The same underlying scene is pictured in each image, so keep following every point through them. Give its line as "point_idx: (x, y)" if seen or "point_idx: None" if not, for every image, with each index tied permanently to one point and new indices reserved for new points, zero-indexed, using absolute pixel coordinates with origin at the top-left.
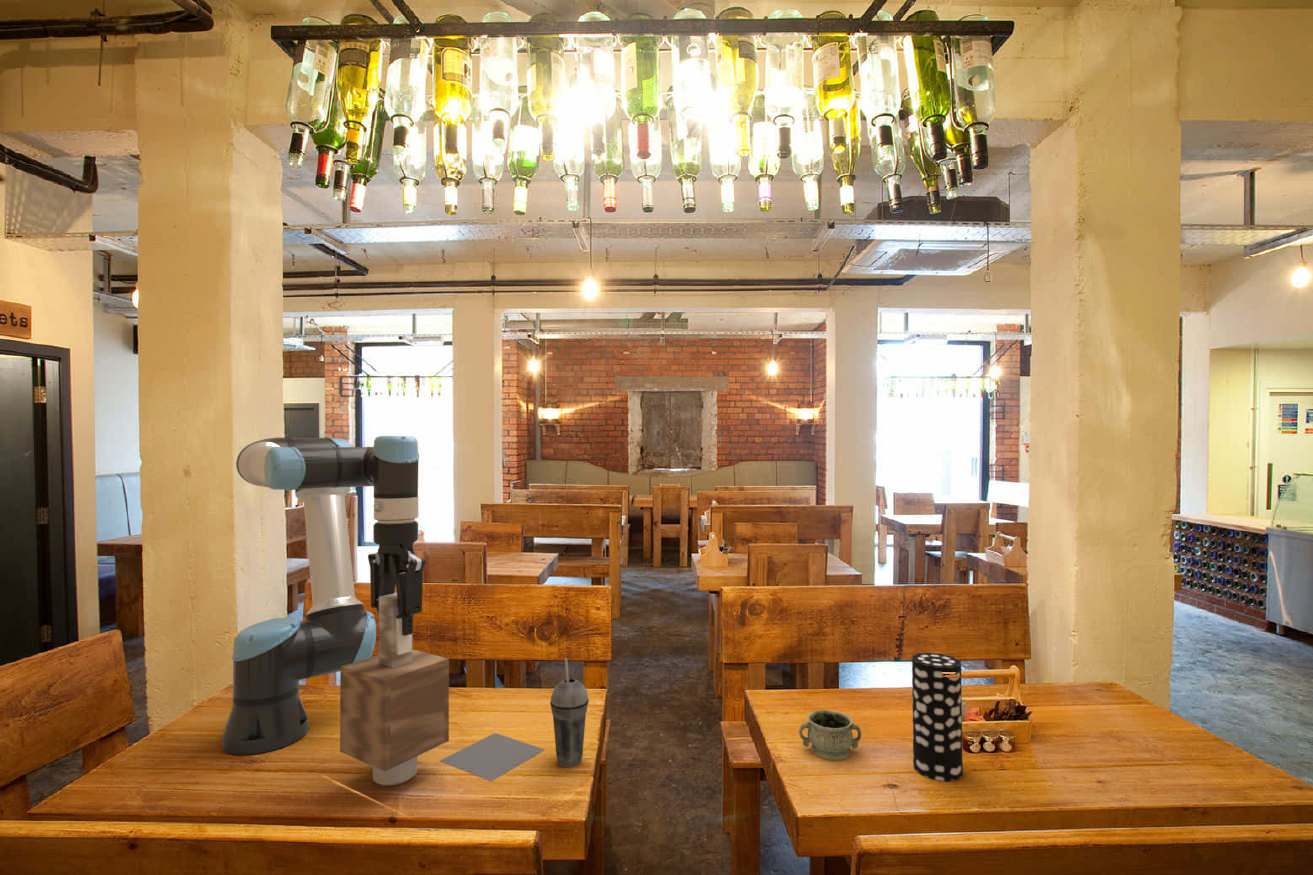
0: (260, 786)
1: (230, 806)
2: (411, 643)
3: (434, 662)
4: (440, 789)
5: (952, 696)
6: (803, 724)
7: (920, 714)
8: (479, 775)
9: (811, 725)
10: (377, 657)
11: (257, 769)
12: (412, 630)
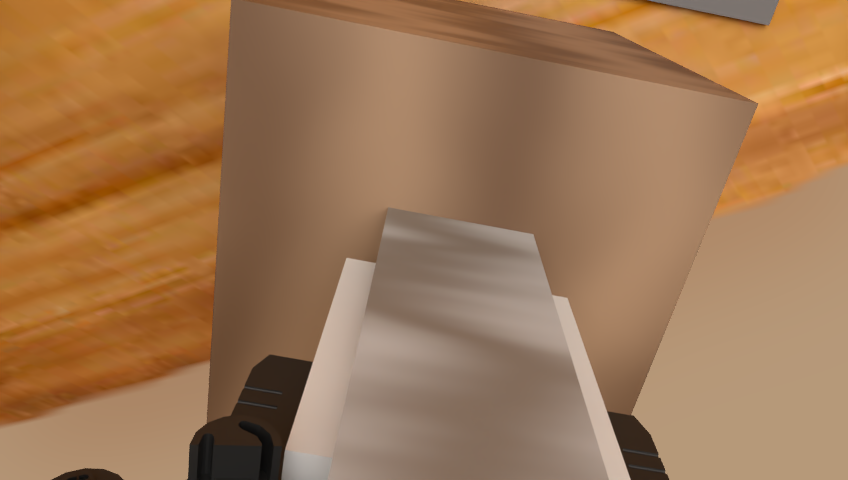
0: (135, 272)
1: (171, 352)
2: (576, 329)
3: (697, 203)
4: None
5: None
6: None
7: None
8: (710, 8)
9: None
10: (257, 249)
11: (27, 215)
12: (649, 441)
